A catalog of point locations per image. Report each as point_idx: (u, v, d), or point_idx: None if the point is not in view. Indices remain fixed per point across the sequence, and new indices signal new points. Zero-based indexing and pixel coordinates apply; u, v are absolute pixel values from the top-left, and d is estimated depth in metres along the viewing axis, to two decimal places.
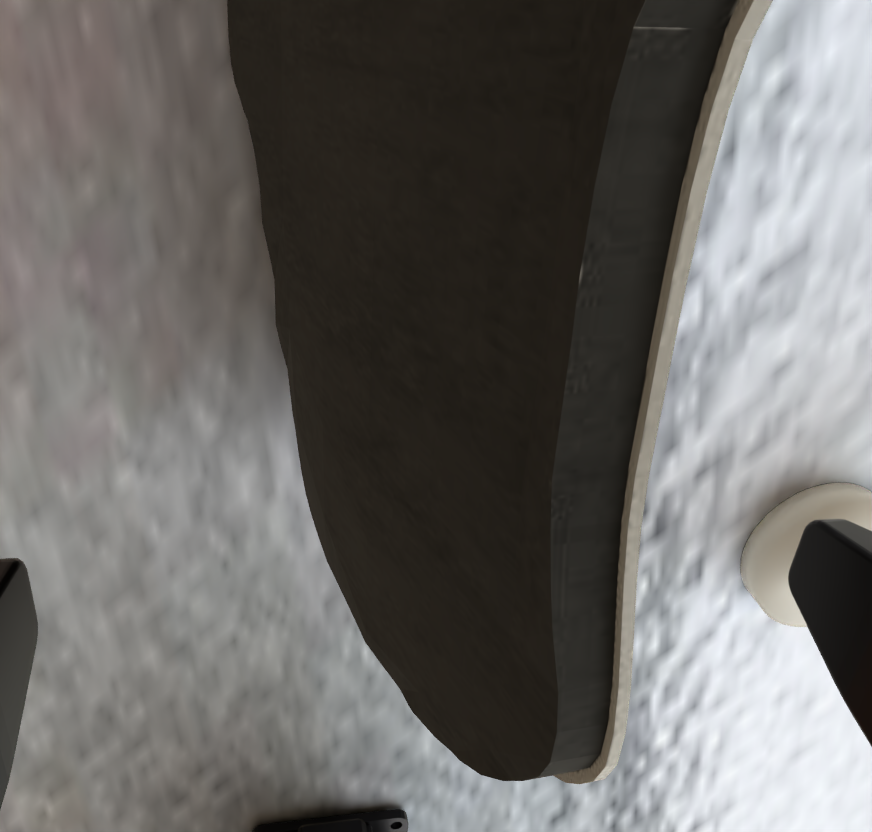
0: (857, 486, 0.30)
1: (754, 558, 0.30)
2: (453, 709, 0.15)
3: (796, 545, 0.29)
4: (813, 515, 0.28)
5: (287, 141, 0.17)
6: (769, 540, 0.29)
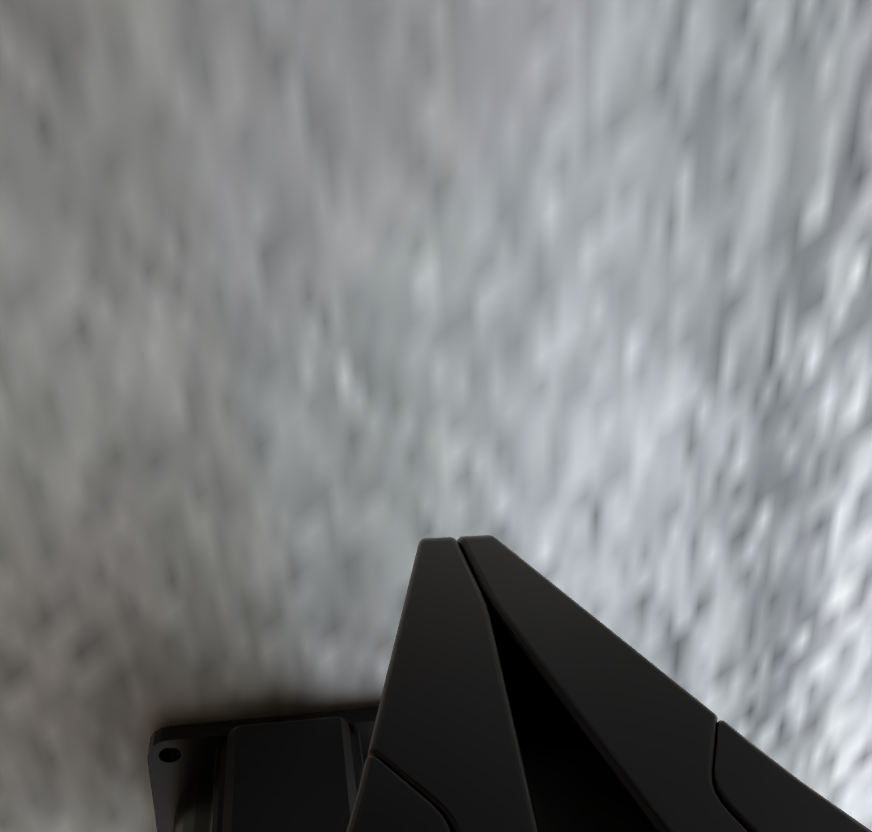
0: None
1: None
2: None
3: None
4: None
5: None
6: None
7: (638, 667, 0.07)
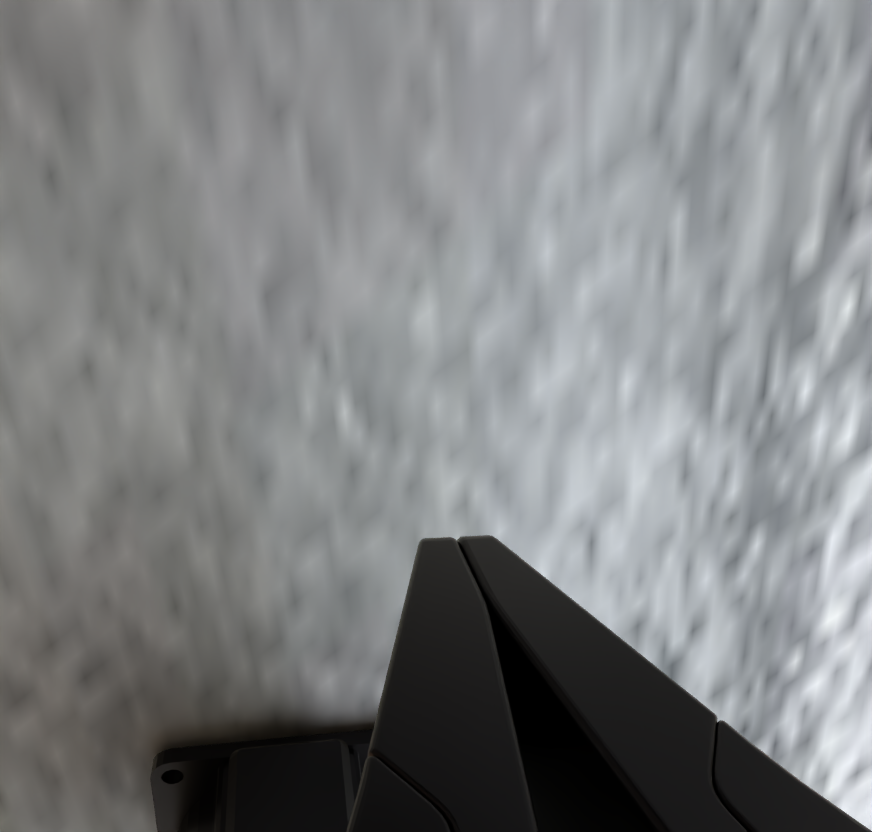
0: None
1: None
2: None
3: None
4: None
5: None
6: None
7: (638, 667, 0.07)
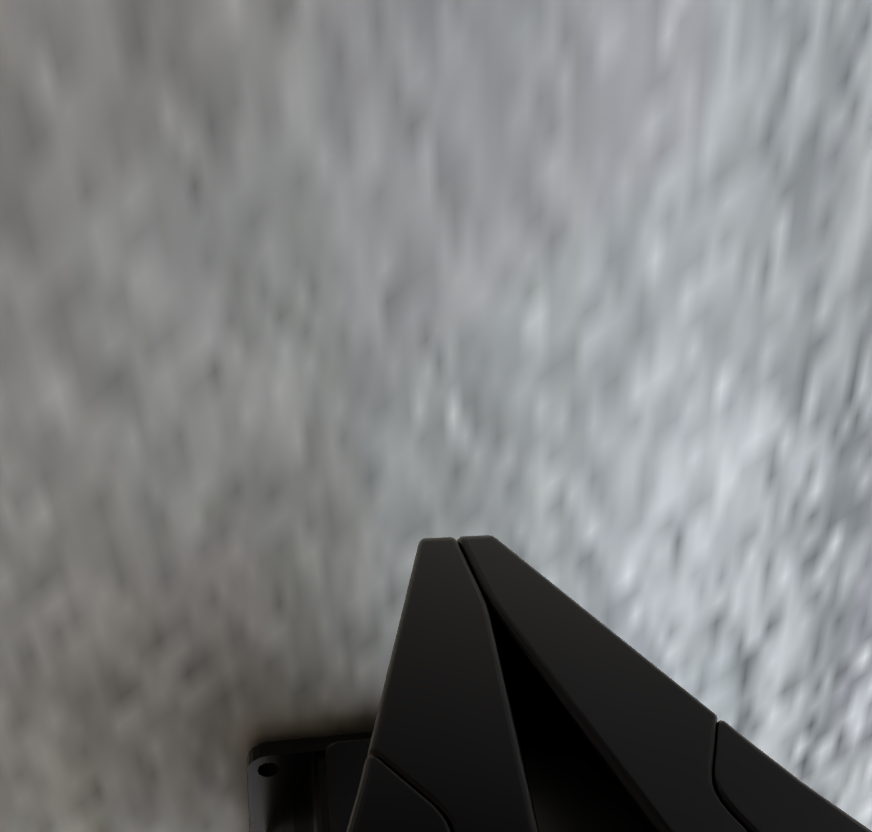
0: None
1: None
2: None
3: None
4: None
5: None
6: None
7: (638, 667, 0.07)
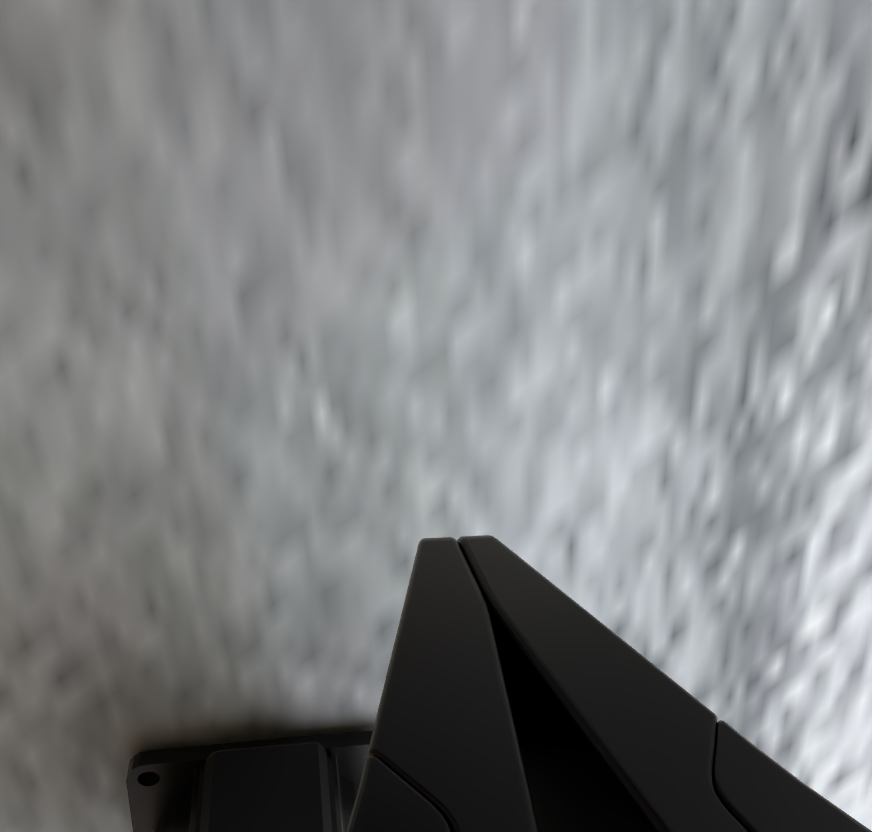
0: None
1: None
2: None
3: None
4: None
5: None
6: None
7: (638, 667, 0.07)
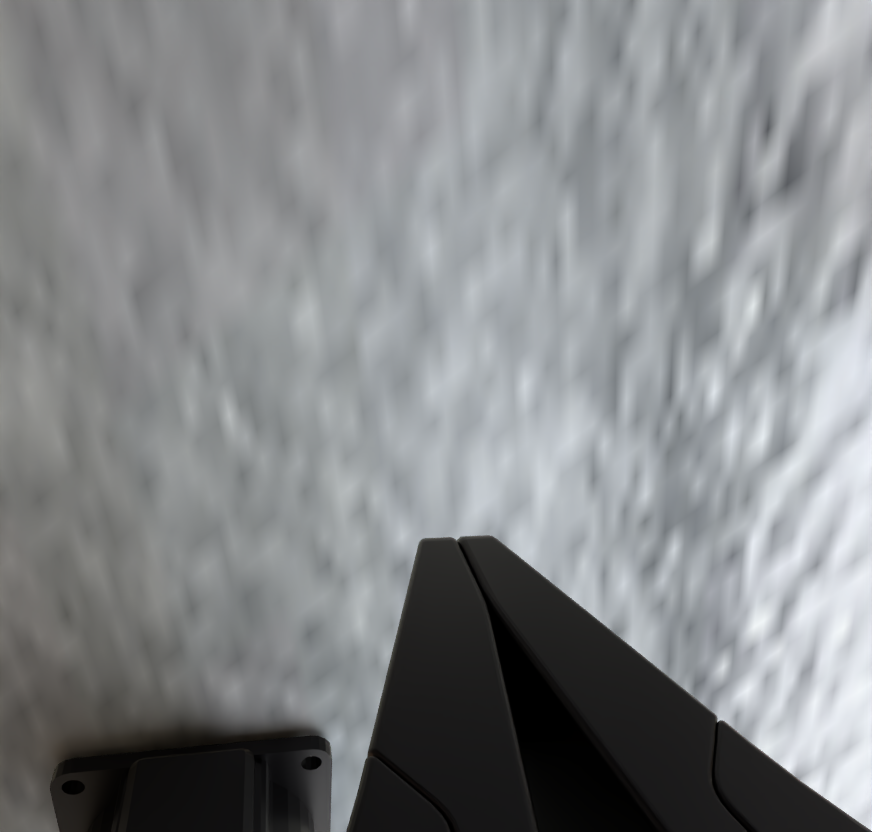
0: None
1: None
2: None
3: None
4: None
5: None
6: None
7: (639, 667, 0.06)
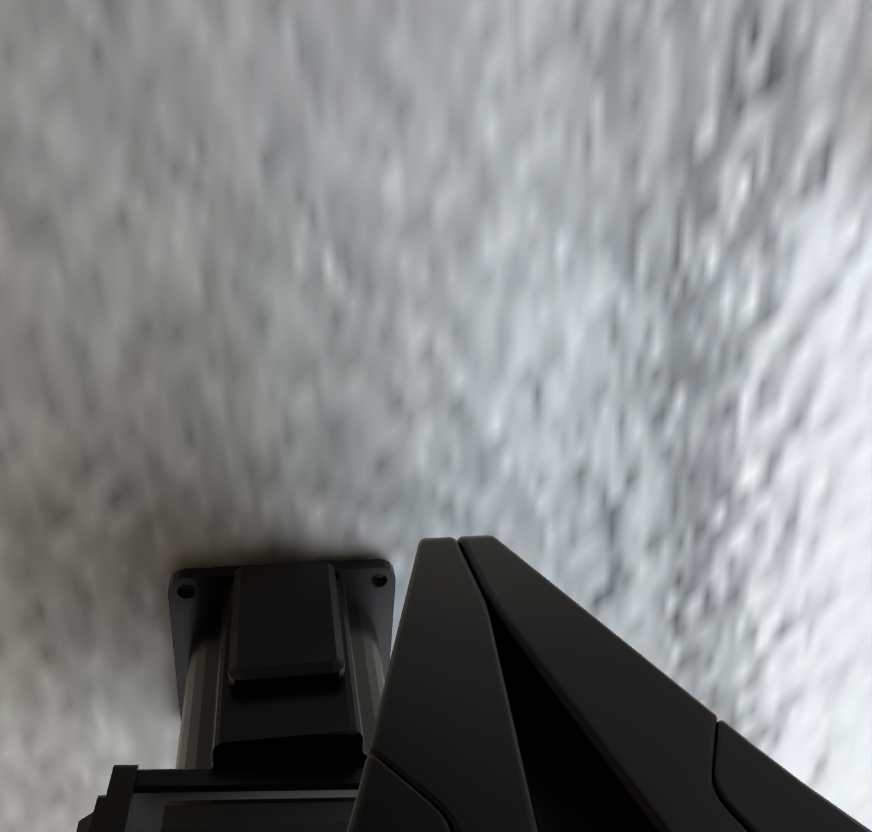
0: None
1: None
2: None
3: None
4: None
5: None
6: None
7: (638, 667, 0.07)
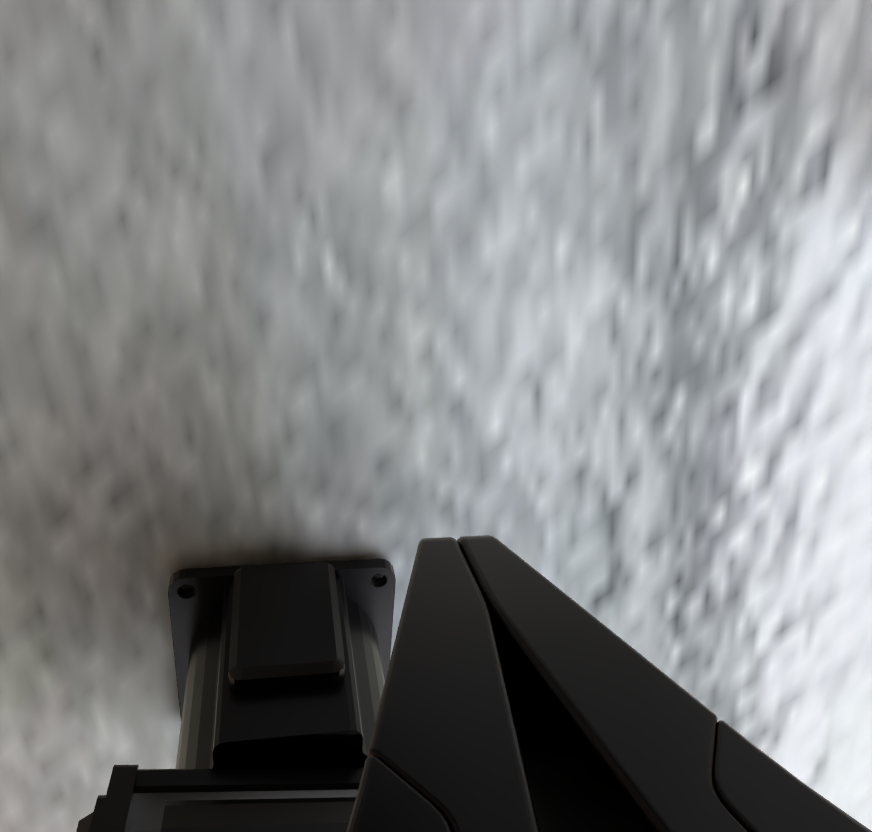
0: None
1: None
2: None
3: None
4: None
5: None
6: None
7: (638, 667, 0.07)
